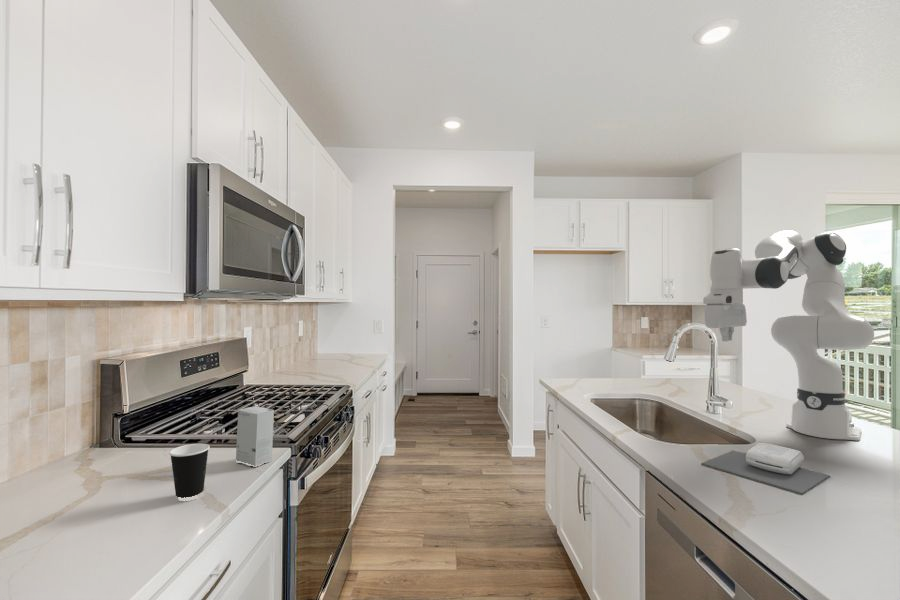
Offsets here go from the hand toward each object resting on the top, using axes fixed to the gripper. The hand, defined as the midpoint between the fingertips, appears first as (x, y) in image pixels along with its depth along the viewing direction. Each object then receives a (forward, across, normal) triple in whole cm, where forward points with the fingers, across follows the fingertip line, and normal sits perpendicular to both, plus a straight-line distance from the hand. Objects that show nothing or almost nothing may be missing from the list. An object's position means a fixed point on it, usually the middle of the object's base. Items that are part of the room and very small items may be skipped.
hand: (727, 341), depth 138 cm
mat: (+31, +22, +18) cm, 42 cm away
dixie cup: (+31, +147, -48) cm, 158 cm away
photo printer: (+28, +12, +18) cm, 36 cm away
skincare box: (+31, +131, -63) cm, 149 cm away
